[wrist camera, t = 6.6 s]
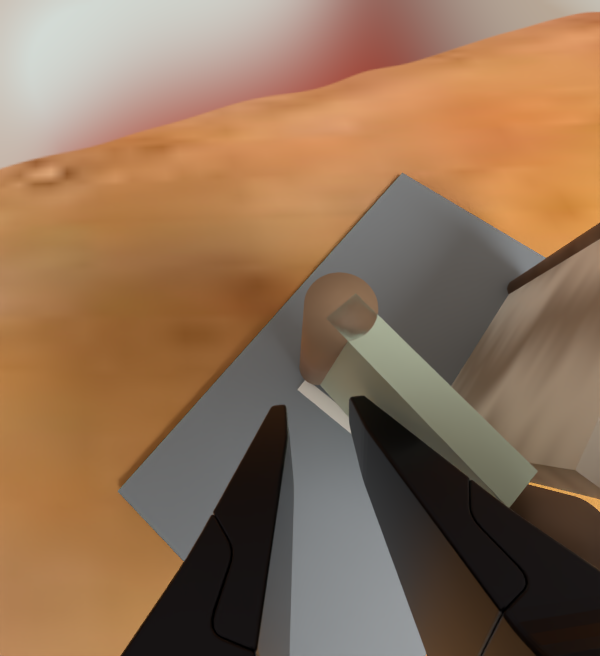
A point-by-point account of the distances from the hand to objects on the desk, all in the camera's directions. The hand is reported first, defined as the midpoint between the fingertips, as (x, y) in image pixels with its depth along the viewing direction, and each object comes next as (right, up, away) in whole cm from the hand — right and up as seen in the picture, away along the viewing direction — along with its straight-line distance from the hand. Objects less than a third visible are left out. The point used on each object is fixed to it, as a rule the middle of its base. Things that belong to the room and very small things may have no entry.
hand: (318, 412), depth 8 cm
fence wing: (+2, -1, +6) cm, 6 cm away
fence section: (+8, 0, +7) cm, 11 cm away
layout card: (+4, 0, +7) cm, 8 cm away
